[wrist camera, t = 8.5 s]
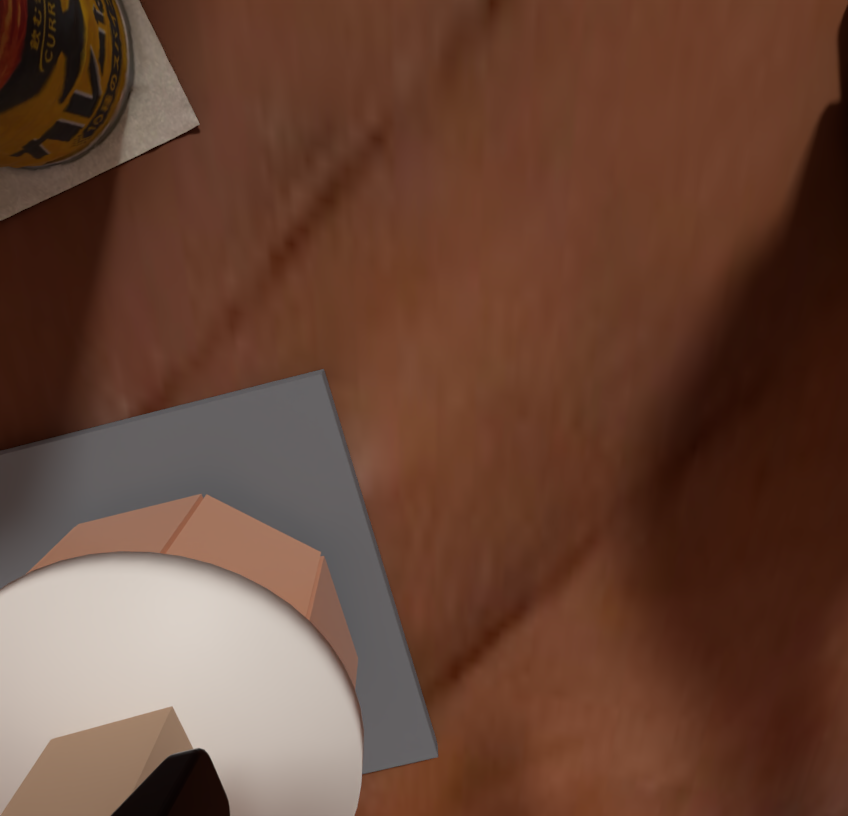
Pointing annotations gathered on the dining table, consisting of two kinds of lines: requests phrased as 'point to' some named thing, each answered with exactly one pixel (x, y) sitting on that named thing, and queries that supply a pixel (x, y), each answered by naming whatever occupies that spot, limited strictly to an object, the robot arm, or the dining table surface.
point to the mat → (247, 492)
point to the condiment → (79, 94)
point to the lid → (168, 689)
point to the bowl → (223, 556)
